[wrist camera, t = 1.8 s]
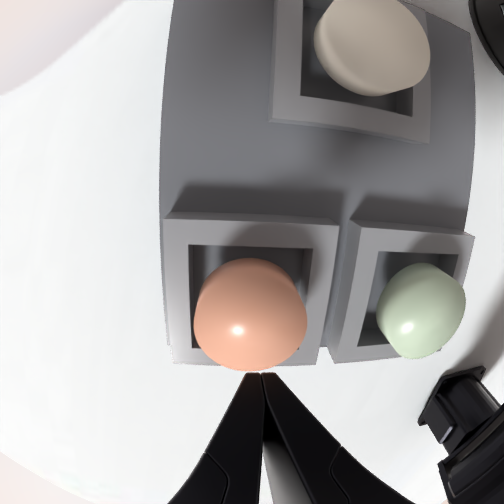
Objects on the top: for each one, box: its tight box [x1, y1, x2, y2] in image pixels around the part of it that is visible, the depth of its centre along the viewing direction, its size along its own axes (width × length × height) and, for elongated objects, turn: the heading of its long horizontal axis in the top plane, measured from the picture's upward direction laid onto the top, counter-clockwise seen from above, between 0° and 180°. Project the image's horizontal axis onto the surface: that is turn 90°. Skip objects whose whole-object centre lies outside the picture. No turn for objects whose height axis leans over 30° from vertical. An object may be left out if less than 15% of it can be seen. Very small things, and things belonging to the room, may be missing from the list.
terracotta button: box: [194, 258, 308, 371], centre depth 12 cm, size 4×4×2 cm
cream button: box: [313, 0, 430, 96], centre depth 9 cm, size 4×4×2 cm
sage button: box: [376, 262, 466, 359], centre depth 12 cm, size 4×4×2 cm
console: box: [159, 0, 475, 366], centre depth 13 cm, size 16×19×4 cm
